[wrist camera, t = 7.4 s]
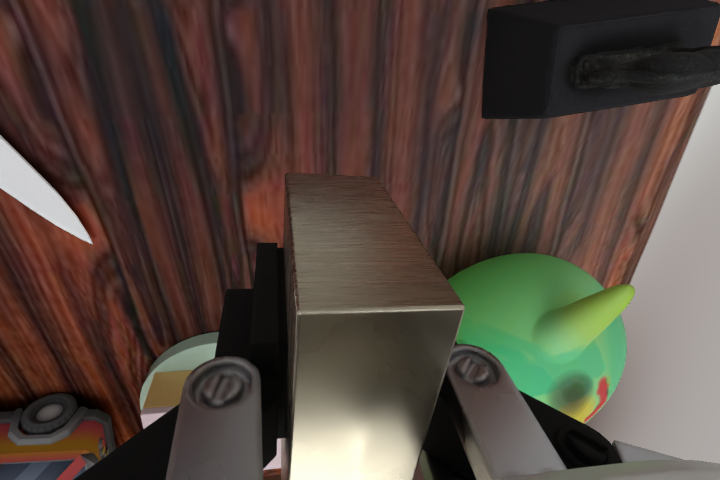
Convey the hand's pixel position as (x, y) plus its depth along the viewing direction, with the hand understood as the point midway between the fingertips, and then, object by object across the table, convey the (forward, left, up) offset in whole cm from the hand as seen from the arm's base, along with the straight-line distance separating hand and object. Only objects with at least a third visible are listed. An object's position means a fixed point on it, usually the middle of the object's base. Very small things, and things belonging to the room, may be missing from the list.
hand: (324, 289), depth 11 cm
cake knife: (+5, +5, 0) cm, 7 cm away
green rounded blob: (-2, +23, -19) cm, 30 cm away
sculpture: (-19, +9, -19) cm, 28 cm away
